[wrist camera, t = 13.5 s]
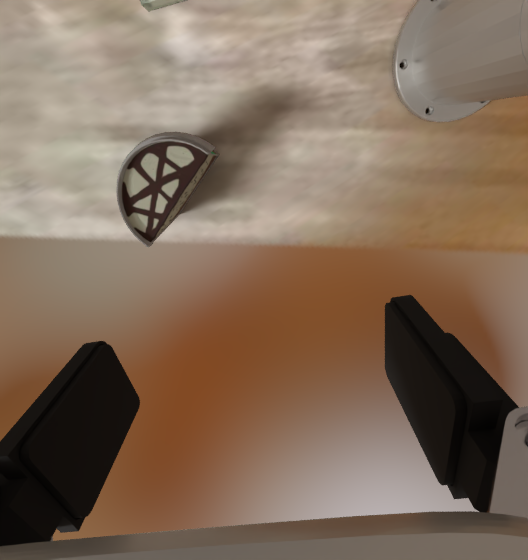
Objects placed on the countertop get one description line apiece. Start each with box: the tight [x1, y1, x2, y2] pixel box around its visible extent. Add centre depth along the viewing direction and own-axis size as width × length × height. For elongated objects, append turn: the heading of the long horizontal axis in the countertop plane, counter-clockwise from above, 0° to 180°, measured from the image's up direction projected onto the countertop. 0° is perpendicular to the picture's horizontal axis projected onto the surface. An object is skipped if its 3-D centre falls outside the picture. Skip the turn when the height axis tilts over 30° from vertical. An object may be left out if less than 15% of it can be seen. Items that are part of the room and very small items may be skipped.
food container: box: [117, 132, 219, 247], centre depth 32 cm, size 12×6×10 cm, turn 142°
